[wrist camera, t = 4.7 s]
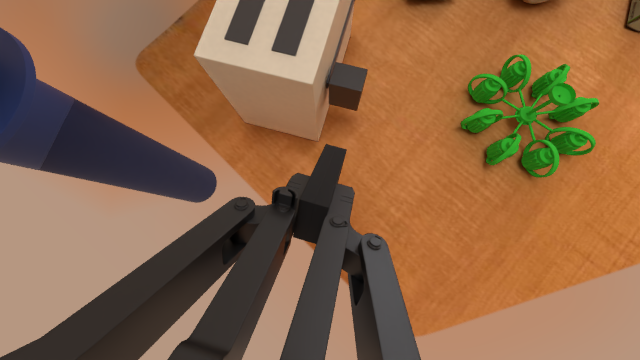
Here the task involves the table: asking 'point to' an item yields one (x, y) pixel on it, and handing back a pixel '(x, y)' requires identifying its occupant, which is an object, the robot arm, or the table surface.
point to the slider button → (346, 85)
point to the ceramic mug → (534, 1)
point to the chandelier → (532, 115)
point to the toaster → (276, 59)
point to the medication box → (634, 16)
